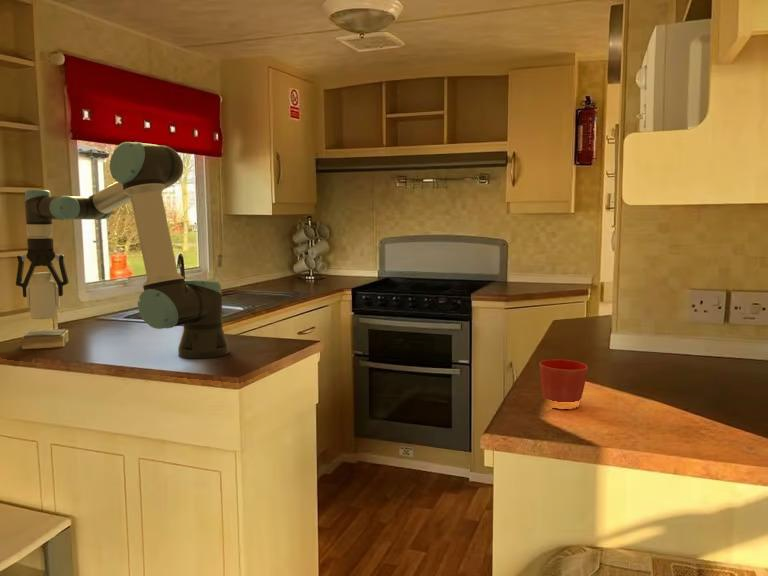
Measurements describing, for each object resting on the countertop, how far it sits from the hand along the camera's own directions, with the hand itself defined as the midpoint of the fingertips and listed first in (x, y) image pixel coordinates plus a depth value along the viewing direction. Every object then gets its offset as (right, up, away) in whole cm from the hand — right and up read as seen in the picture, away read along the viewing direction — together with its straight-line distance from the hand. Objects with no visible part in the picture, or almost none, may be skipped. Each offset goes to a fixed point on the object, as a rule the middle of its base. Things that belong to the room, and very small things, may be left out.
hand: (43, 306), depth 216 cm
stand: (0, -13, +1) cm, 13 cm away
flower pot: (+153, -21, -66) cm, 168 cm away
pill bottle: (0, -4, 0) cm, 4 cm away
